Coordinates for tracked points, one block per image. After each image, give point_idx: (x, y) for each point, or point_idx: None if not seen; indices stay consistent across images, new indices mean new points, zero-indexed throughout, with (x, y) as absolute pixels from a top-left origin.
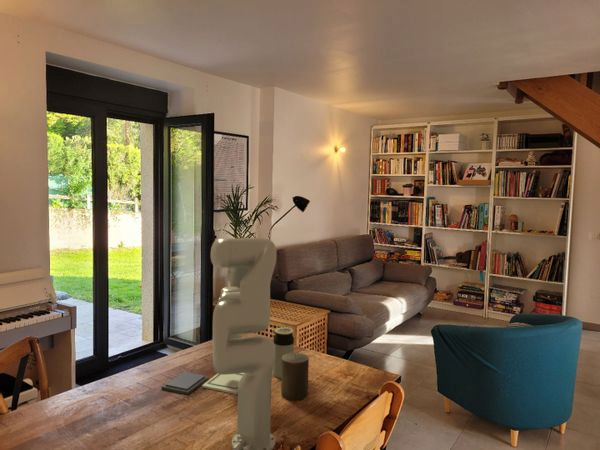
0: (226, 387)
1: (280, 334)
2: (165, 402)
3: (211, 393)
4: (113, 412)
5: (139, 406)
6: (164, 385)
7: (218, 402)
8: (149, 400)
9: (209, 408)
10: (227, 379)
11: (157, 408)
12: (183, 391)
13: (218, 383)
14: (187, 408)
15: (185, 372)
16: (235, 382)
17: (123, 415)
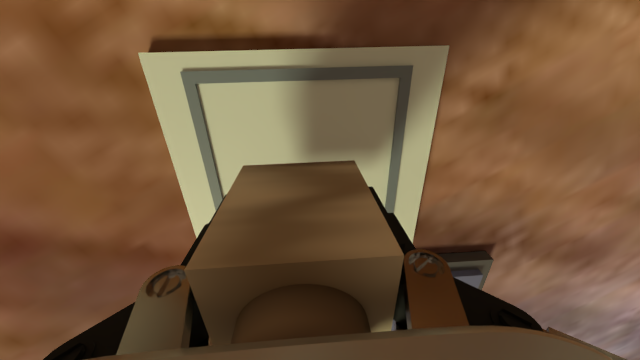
0: (403, 138)
1: None
2: (552, 276)
3: (456, 179)
4: (612, 338)
5: (579, 314)
6: None
7: (552, 95)
8: (538, 315)
9: (619, 103)
10: None
11: (597, 272)
12: (486, 274)
13: None
14: (608, 191)
15: None
16: (321, 125)
17: (634, 315)
